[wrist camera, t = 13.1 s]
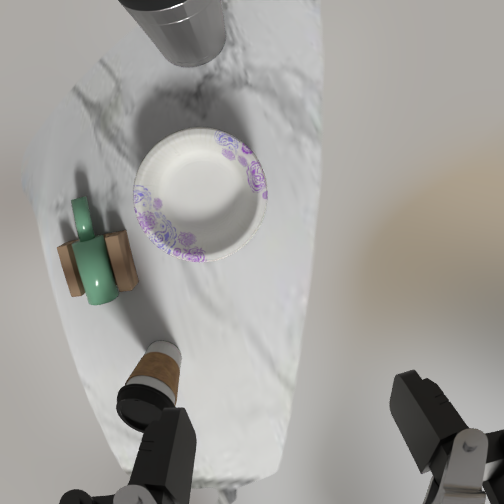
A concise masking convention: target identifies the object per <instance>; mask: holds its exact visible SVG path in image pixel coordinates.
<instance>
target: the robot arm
mask: <svg viewBox="0 0 504 504" xmlns="http://www.w3.org/2000/svg"><path fill="white" fill-rule="evenodd" d="M118 1H119V2H120V3H121V4H122V5H123V7H124V8H125V9H126V10H127V11H128V12H129V14H130V15H131V16H132V17H133V18H134V19H135V21H137V23H138V24H139V26H140V27H141V28H142V29H143V31H144V32H145V33H146V34H147V35H148V37H149V38H150V39H151V40H152V42H153V43H154V44H155V45H156V47H157V48H158V49H159V51H160V52H161V53H162V54H163V56H164V57H165V58H166V59H167V60H168V61H169V62H171V63H172V64H174V65H177V66H181V67H196V66H199V65H203V64H205V63H207V62H209V61H211V60H212V59H214V58H215V57H216V56H217V55H218V54H219V53H220V52H221V50H222V49H223V47H224V44H225V41H226V32H225V25H224V17H223V9H222V2H221V0H118ZM390 411H391V414H392V416H393V418H394V420H395V422H396V424H397V426H398V428H399V430H400V432H401V434H402V436H403V438H404V440H405V442H406V444H407V446H408V447H409V450H410V452H411V454H412V456H413V458H414V460H415V462H416V464H417V466H418V468H419V471H420V473H421V474H423V473H425V472H428V471H430V470H431V472H432V474H433V476H432V478H431V481H430V484H429V487H428V490H427V493H426V497H425V499H424V502H423V504H485V499H486V494H487V496H488V499H489V501H490V503H491V504H504V430H500V431H496V432H491V433H486V434H484V433H483V432H482V431H480V430H478V429H474V428H469V427H468V426H467V425H466V424H465V422H464V421H463V419H462V418H461V416H460V415H459V414H458V412H457V411H456V409H455V408H454V407H453V405H452V404H451V402H449V400H448V398H447V397H446V396H445V395H444V393H443V391H442V390H441V389H440V387H439V386H438V385H437V384H436V383H434V382H433V381H431V380H429V379H428V378H426V379H423V380H422V379H421V377H420V376H419V375H418V373H417V372H416V371H415V370H410V371H407V372H404V373H401V374H398V375H396V376H395V378H394V383H393V388H392V393H391V397H390ZM196 443H197V442H196V434H195V431H194V428H193V426H192V424H191V421H190V419H189V417H188V414H187V412H186V410H185V408H164V409H163V411H162V415H161V418H160V421H155V420H153V421H152V422H151V423H150V424H149V425H148V427H147V428H146V429H145V431H144V434H143V437H142V443H141V444H140V447H139V451H138V454H137V457H136V460H135V464H134V467H133V471H132V474H131V478H130V481H129V483H128V485H127V486H124V487H123V488H121V489H119V490H118V491H117V492H116V494H114V495H109V496H96V497H91V496H90V495H88V494H87V493H86V492H84V491H82V490H78V489H74V490H70V491H68V492H66V493H65V494H64V495H63V496H62V498H61V500H60V503H59V504H189V499H190V491H191V483H192V475H193V467H194V460H195V452H196ZM482 486H483V488H484V490H485V492H486V493H485V492H484V491H482Z"/></svg>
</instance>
